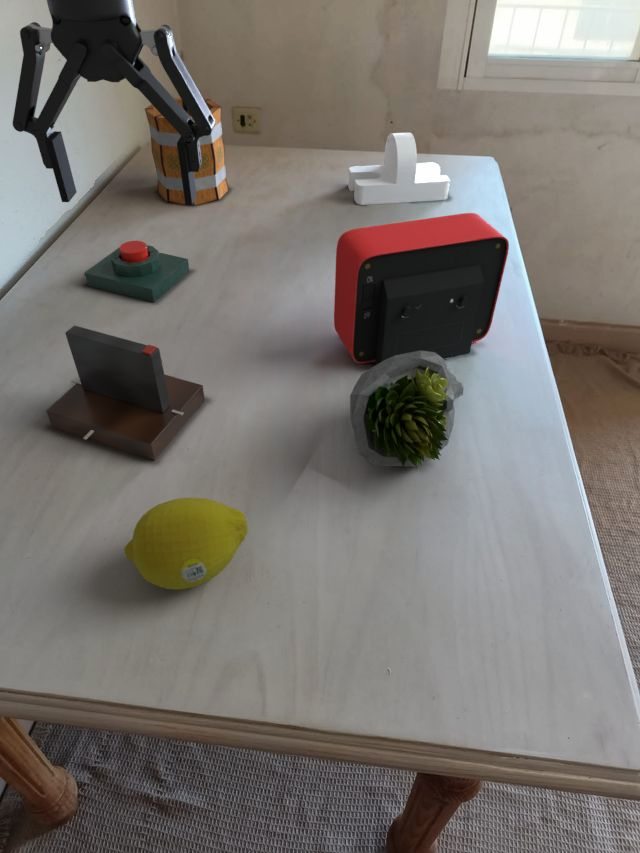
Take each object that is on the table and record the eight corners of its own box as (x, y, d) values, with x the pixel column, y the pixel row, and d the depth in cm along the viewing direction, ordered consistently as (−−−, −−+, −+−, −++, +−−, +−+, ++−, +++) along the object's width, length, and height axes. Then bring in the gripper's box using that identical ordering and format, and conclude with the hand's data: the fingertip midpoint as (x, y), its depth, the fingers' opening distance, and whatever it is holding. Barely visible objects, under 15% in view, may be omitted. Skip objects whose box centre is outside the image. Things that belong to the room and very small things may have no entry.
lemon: (129, 610, 55) (109, 557, 50) (138, 539, 61) (121, 484, 56) (251, 600, 56) (245, 546, 51) (249, 530, 62) (243, 475, 57)
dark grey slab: (82, 389, 74) (64, 330, 68) (91, 381, 75) (73, 323, 69) (162, 413, 71) (150, 354, 65) (170, 405, 72) (159, 346, 66)
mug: (229, 203, 118) (222, 118, 108) (156, 207, 116) (141, 121, 106) (226, 164, 132) (220, 86, 122) (161, 167, 131) (149, 88, 120)
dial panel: (35, 437, 71) (27, 419, 70) (115, 362, 82) (110, 345, 80) (148, 475, 67) (144, 458, 65) (218, 392, 78) (215, 375, 76)
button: (116, 260, 94) (113, 249, 93) (131, 249, 97) (129, 238, 96) (138, 265, 93) (136, 255, 92) (153, 254, 96) (151, 243, 95)
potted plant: (466, 384, 74) (516, 445, 61) (384, 452, 77) (414, 524, 64) (403, 312, 69) (442, 362, 56) (318, 388, 72) (335, 452, 59)
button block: (87, 285, 96) (80, 261, 93) (125, 256, 102) (121, 233, 100) (154, 302, 92) (149, 278, 90) (189, 271, 99) (186, 248, 96)
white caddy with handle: (448, 199, 121) (457, 141, 113) (357, 205, 118) (360, 145, 111) (434, 180, 127) (441, 124, 120) (347, 184, 125) (349, 127, 118)
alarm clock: (495, 351, 85) (522, 242, 74) (356, 378, 80) (364, 266, 69) (461, 313, 91) (481, 208, 81) (332, 337, 87) (335, 229, 76)
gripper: (-79, -35, 53) (5, 210, 67) (217, -30, 52) (237, 216, 67) (-38, -46, 58) (31, 182, 73) (230, -42, 58) (246, 187, 72)
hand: (130, 199), depth 70 cm, fingers open, 13 cm apart
